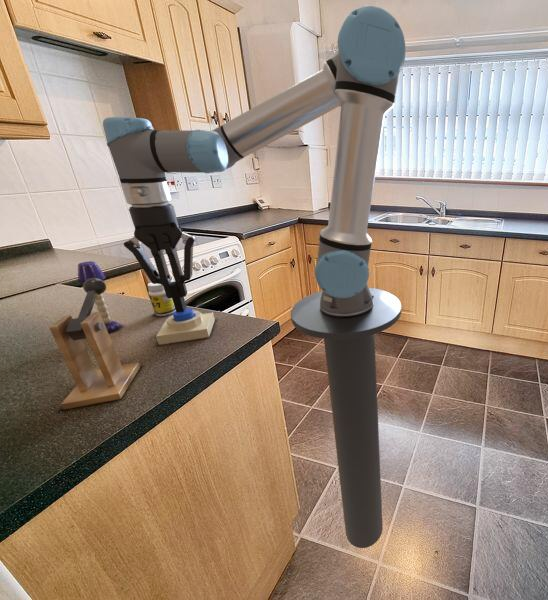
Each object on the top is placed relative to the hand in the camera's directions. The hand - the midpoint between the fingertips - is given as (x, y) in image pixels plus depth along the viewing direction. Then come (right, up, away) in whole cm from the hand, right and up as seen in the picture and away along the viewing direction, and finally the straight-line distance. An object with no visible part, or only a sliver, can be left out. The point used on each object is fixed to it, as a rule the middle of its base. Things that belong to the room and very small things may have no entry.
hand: (181, 309), depth 77 cm
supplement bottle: (-12, -1, +12) cm, 17 cm away
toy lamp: (-20, -5, +4) cm, 21 cm away
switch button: (0, -2, +1) cm, 2 cm away
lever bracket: (-3, -14, -16) cm, 21 cm away
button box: (0, -5, +2) cm, 6 cm away
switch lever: (-5, 0, -17) cm, 18 cm away
